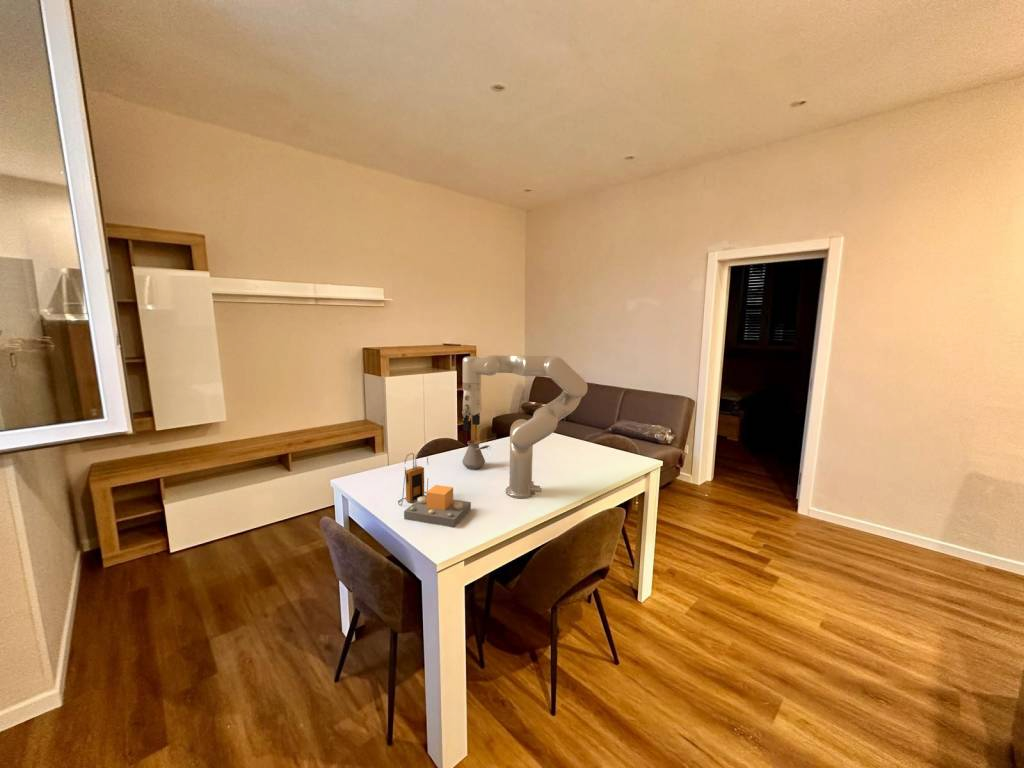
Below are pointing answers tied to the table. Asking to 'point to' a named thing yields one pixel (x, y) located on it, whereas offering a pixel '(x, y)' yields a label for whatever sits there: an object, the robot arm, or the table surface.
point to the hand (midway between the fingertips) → (471, 427)
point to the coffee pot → (474, 455)
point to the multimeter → (414, 482)
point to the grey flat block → (437, 512)
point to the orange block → (439, 497)
